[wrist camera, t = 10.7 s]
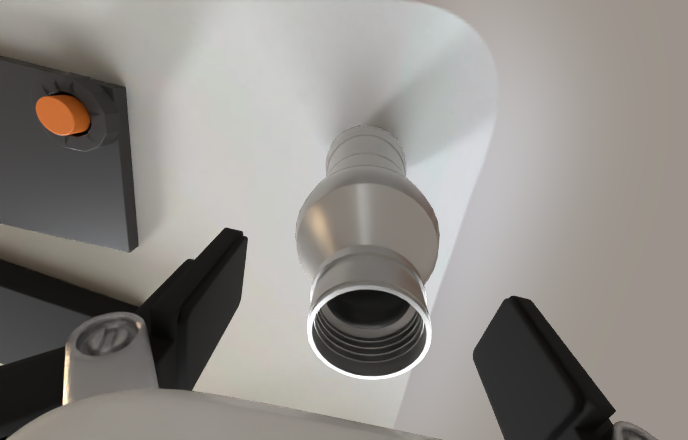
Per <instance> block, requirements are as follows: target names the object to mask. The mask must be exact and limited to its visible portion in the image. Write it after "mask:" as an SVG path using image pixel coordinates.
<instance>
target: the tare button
mask: <svg viewBox="0 0 688 440" xmlns="http://www.w3.org/2000/svg"><path fill="white" fill-rule="evenodd" d="M36 113H37V116H38V118H39V120H40V121H41V123H42V124H43V125H44V126H45V127H46V128H47V129H48V130H50V131H51V132H53V133H55V134H58V135H70V134H75V133H80V132H84V131H86V130H87V129H88V128H89V126H90V122H91V120H90V115H89V112H88V110H87V109H86V107H85V106H84V104H83V103H82V102H81V101H79V100H78V99H76V98H75V97H72V96H69V95H54V96H44V97H41V98H40V99H39V100H38V101H37V103H36Z"/></svg>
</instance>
